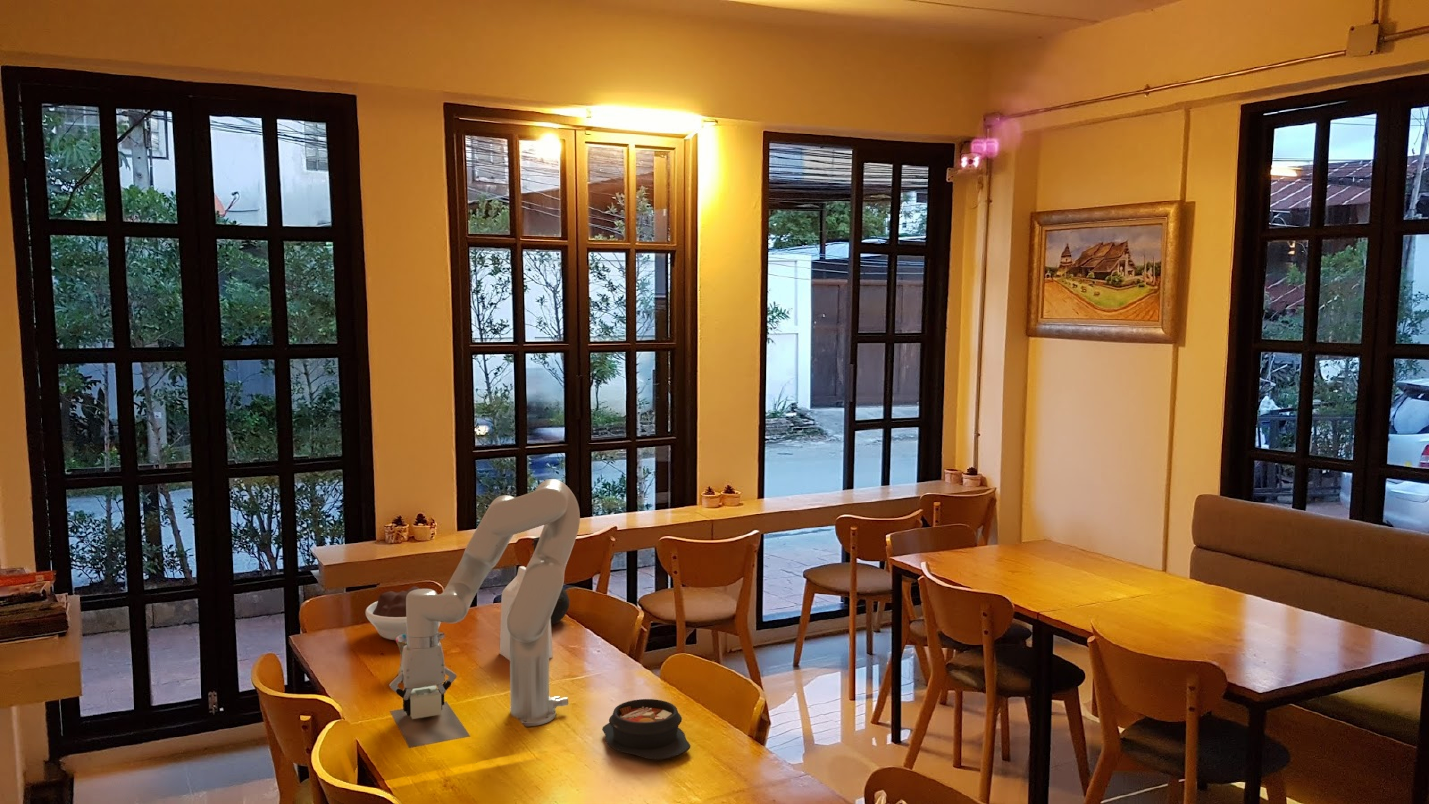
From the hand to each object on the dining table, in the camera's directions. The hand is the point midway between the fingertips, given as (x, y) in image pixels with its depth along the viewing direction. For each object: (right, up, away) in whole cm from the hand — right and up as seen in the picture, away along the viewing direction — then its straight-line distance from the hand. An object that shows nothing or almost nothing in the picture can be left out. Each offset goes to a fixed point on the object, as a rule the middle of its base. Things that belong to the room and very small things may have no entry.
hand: (423, 710), depth 253 cm
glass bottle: (+16, +4, +80) cm, 82 cm away
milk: (+16, +1, +49) cm, 52 cm away
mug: (-13, 0, +34) cm, 36 cm away
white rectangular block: (0, 0, 0) cm, 0 cm away
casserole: (+55, -5, -12) cm, 57 cm away
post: (0, -1, +1) cm, 2 cm away
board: (+2, -3, -4) cm, 6 cm away
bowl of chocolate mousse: (-24, +3, +67) cm, 71 cm away
